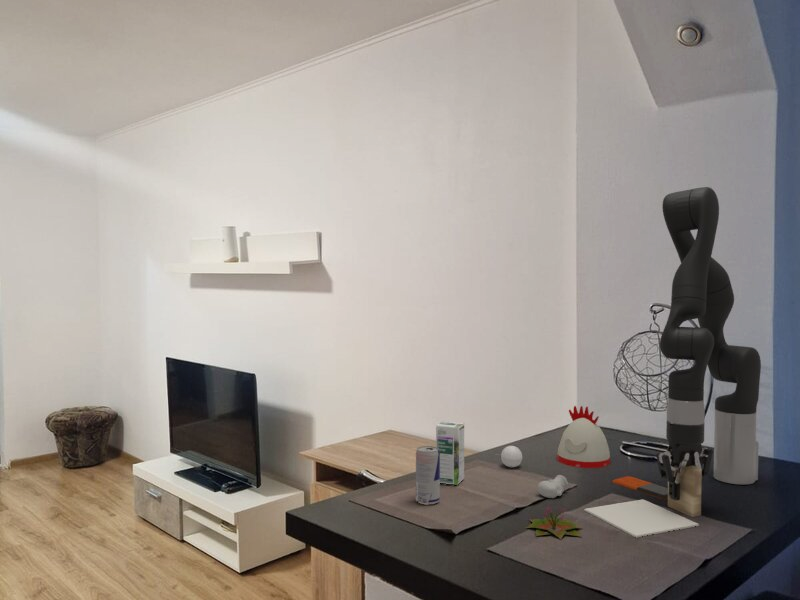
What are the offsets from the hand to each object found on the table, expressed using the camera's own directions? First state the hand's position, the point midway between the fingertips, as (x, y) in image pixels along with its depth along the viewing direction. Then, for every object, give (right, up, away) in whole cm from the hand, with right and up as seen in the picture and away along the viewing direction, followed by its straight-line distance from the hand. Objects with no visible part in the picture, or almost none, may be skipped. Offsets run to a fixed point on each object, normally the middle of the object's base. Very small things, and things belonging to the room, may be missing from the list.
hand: (684, 497), depth 145 cm
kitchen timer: (-11, -2, +39) cm, 40 cm away
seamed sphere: (-33, -2, +33) cm, 47 cm away
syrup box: (-49, -2, +20) cm, 53 cm away
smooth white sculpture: (-26, -3, +10) cm, 28 cm away
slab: (0, -3, 0) cm, 3 cm away
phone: (-3, -3, +15) cm, 16 cm away
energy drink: (-55, -3, +6) cm, 56 cm away
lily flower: (-30, -4, -10) cm, 32 cm away
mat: (-11, -3, -4) cm, 12 cm away
